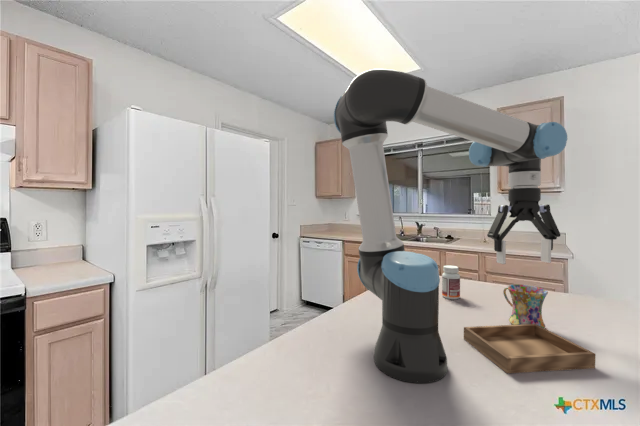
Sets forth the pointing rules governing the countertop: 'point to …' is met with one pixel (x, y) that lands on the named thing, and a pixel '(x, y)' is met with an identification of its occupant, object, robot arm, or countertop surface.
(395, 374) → the robot arm
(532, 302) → the mug
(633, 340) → the countertop surface
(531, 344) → the tray
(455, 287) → the pill bottle
